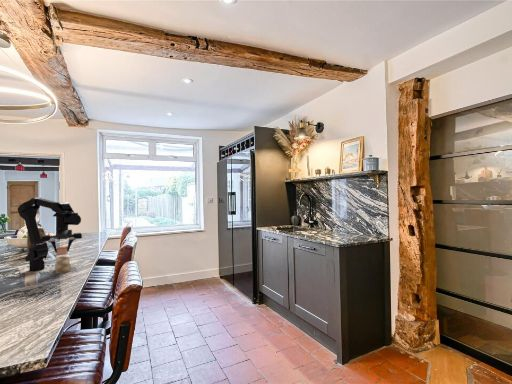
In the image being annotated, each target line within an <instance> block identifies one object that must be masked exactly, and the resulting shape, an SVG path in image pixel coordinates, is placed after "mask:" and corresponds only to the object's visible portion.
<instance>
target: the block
mask: <svg viewBox="0 0 512 384" xmlns="http://www.w3.org/2000/svg"><path fill="white" fill-rule="evenodd" d="M38 230H39V233H40V237H41V236H42V235H46V233H45V229H44V228H43V227H38ZM26 234H27V236H26V240H27V241H26V248H27V249H26V250H27V255H28V254H29V248H30V245H31V242H30V238H29V234H28V231H27V233H26ZM43 243H47V241H43Z"/></svg>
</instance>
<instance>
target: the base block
mask: <svg viewBox="0 0 512 384" xmlns="http://www.w3.org/2000/svg"><path fill="white" fill-rule="evenodd" d="M71 264H72V263H71V262H70V264H64V265H57V264H56V262H55V264H54V269H55V272H56V273H60V272H67V271H71V267H72V265H71Z"/></svg>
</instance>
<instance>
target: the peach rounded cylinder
mask: <svg viewBox="0 0 512 384" xmlns="http://www.w3.org/2000/svg"><path fill="white" fill-rule="evenodd" d="M68 252H69V251H68V245H63V246H62V245H61V246H56V256H64V255H69V254H68Z"/></svg>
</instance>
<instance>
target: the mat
mask: <svg viewBox="0 0 512 384" xmlns="http://www.w3.org/2000/svg"><path fill="white" fill-rule="evenodd" d="M75 272H78V269H77V267H76V266H71V271H67V272H60V273H56V272H55V268H53V269H48V275H49V276H53V275H60V274H61V275H62V274H69V273H75Z"/></svg>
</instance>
